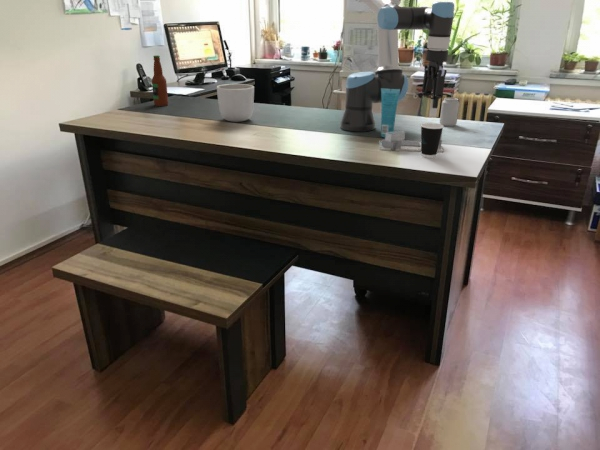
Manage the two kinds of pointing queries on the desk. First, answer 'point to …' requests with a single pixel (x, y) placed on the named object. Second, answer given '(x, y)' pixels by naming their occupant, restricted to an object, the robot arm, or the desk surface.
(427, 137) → the dixie cup
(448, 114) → the can
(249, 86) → the planter
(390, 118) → the tube
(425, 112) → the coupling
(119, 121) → the desk surface
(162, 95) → the bottle
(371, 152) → the desk surface
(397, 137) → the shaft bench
